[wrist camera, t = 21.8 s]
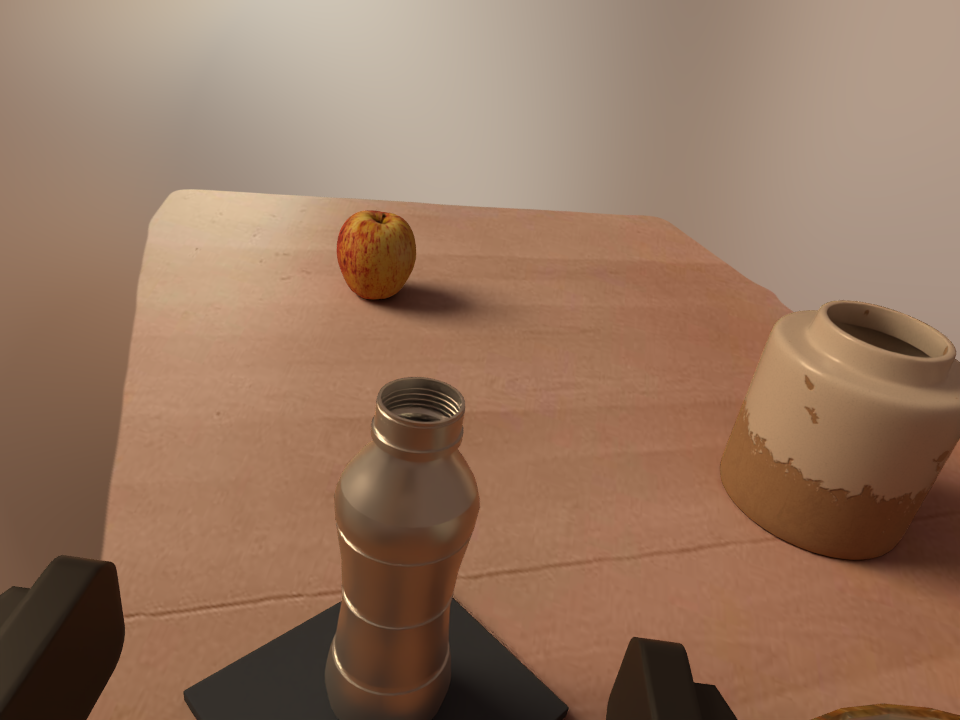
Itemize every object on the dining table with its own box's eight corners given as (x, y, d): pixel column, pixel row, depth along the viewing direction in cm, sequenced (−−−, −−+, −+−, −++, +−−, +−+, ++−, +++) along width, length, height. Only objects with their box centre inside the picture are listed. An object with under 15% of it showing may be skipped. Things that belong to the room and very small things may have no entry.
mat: (332, 930, 31) (333, 921, 31) (183, 700, 40) (182, 690, 39) (566, 716, 42) (569, 707, 42) (411, 568, 50) (412, 559, 50)
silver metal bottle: (459, 742, 39) (525, 439, 29) (331, 771, 36) (355, 453, 27) (428, 642, 44) (474, 356, 34) (314, 663, 42) (328, 362, 32)
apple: (373, 271, 92) (379, 193, 87) (428, 296, 88) (437, 217, 83) (319, 289, 85) (322, 206, 80) (375, 318, 81) (382, 233, 76)
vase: (682, 458, 66) (742, 290, 58) (800, 433, 73) (868, 279, 64) (813, 582, 55) (911, 395, 46) (939, 538, 61) (1043, 368, 53)
